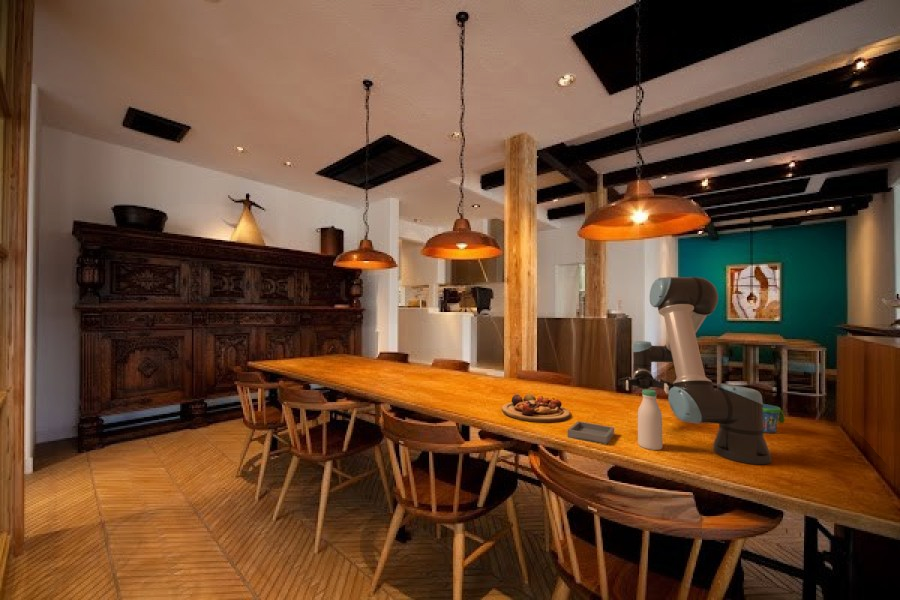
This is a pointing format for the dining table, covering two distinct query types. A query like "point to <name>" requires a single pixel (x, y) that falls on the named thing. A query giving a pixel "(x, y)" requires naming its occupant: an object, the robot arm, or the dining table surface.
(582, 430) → the bottle tray
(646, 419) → the milk bottle
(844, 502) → the dining table surface
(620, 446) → the dining table surface
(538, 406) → the wooden plate with food
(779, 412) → the snack cup
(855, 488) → the dining table surface
